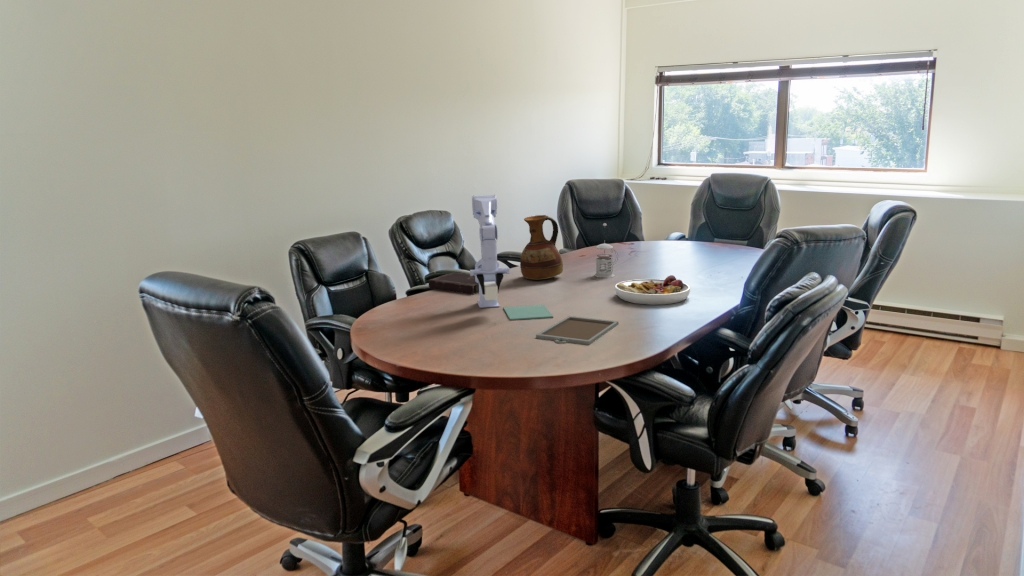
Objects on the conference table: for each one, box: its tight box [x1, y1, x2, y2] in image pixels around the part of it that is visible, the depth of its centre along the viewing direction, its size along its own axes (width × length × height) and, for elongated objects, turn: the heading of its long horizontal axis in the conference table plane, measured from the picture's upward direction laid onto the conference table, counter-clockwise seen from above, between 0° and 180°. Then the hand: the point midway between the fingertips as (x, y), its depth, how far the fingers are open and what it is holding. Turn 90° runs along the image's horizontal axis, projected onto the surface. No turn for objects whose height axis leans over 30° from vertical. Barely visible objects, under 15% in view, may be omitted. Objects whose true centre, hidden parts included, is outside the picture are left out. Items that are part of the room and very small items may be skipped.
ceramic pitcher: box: [519, 214, 564, 281], centre depth 321 cm, size 20×20×30 cm
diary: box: [428, 271, 479, 296], centre depth 307 cm, size 19×25×5 cm
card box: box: [483, 282, 499, 301], centre depth 256 cm, size 9×4×5 cm, turn 9°
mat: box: [503, 304, 554, 321], centre depth 260 cm, size 18×16×1 cm
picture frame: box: [535, 315, 619, 346], centre depth 234 cm, size 19×2×30 cm
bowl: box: [614, 275, 691, 306], centre depth 280 cm, size 30×30×8 cm
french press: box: [593, 222, 619, 279], centre depth 325 cm, size 10×12×25 cm
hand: (490, 293), depth 257 cm, fingers closed on card box, 4 cm apart
